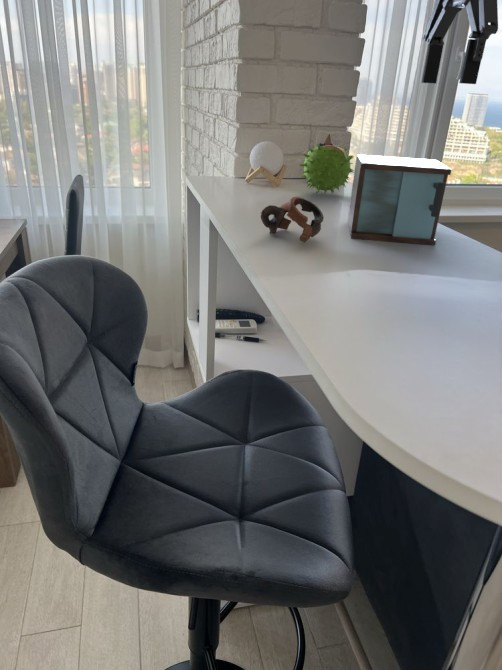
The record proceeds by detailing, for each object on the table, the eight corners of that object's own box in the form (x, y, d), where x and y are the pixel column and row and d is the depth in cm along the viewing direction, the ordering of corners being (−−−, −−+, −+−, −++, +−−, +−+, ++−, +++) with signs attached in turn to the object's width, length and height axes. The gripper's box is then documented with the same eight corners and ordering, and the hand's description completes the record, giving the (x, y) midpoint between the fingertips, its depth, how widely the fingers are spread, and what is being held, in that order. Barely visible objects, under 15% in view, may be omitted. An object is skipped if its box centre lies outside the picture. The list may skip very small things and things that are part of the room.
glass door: (429, 239, 97) (444, 172, 92) (434, 245, 93) (449, 176, 88) (392, 236, 98) (403, 169, 93) (395, 242, 94) (407, 173, 89)
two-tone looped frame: (295, 229, 104) (317, 197, 99) (311, 261, 99) (335, 230, 93) (246, 218, 97) (266, 183, 92) (260, 252, 92) (282, 217, 87)
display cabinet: (422, 227, 109) (436, 159, 103) (435, 245, 97) (451, 169, 90) (347, 221, 110) (356, 154, 104) (350, 238, 98) (361, 163, 92)
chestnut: (282, 158, 132) (307, 141, 142) (300, 209, 138) (323, 189, 148) (332, 141, 123) (355, 124, 133) (349, 196, 128) (371, 177, 138)
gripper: (418, -47, 93) (398, 81, 103) (501, -85, 71) (466, 82, 81) (455, -43, 95) (432, 84, 104) (548, -79, 73) (507, 85, 82)
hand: (446, 83), depth 92 cm, fingers open, 13 cm apart
